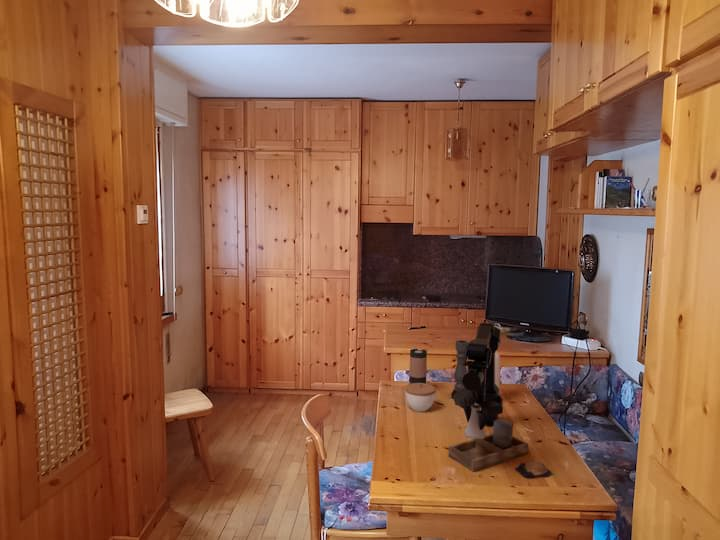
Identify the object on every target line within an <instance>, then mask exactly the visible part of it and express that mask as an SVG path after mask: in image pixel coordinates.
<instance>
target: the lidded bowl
mask: <svg viewBox="0 0 720 540" xmlns="http://www.w3.org/2000/svg"><path fill="white" fill-rule="evenodd" d="M404 389H405V390H404V392H405V400H406V403H407V405H408V406H409V408H410V409H411V410H412V411H414V412H418V413H419V412H420V413H425V412H428V411H429V410H430V408H432V406H433V405H434V403H435V398H436V386H434V385H432V384H429V383H427V382H426V383H412V384H410V383H408V384H407V385H406V386H405V388H404Z"/></svg>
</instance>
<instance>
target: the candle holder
mask: <svg viewBox="0 0 720 540" xmlns="http://www.w3.org/2000/svg"><path fill="white" fill-rule="evenodd" d="M469 342H470V341H468V340H464V339H459V340H458V339H457V340H456V341H455V351H456V354H455V357H456V367H455V369H454V373H453V377H454V379H455V384H454V385H453V387H454V388H453V390H456V389H461V388H464V385H463V383H462V379H463V376H464V375H465V373H466V372H467V370H468V367H467V366H463V362H464V356H465V349H466V346H468V343H469Z"/></svg>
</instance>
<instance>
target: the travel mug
mask: <svg viewBox="0 0 720 540" xmlns="http://www.w3.org/2000/svg"><path fill="white" fill-rule="evenodd" d="M409 353H410V354H409V384H412V383H426V384H427V363H428V361H427V360H428V357H427V356H428V355H427V353H428V351H427V350H426V349H425V348H424V349H418V348H412V349H410V351H409Z"/></svg>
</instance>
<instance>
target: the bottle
mask: <svg viewBox="0 0 720 540" xmlns="http://www.w3.org/2000/svg"><path fill="white" fill-rule="evenodd" d="M500 376H501V356H500V353H499V352H498V351H497V350H496V352H495V384H496V385H497V387H498V388H499V389H500V382H501V377H500Z"/></svg>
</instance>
